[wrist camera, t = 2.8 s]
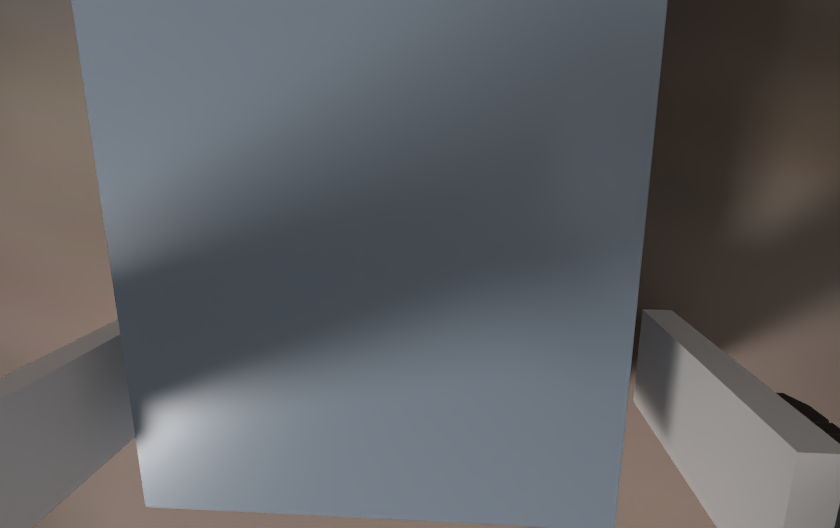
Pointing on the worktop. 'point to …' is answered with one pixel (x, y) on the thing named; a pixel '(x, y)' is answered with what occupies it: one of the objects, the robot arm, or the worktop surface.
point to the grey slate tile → (376, 249)
